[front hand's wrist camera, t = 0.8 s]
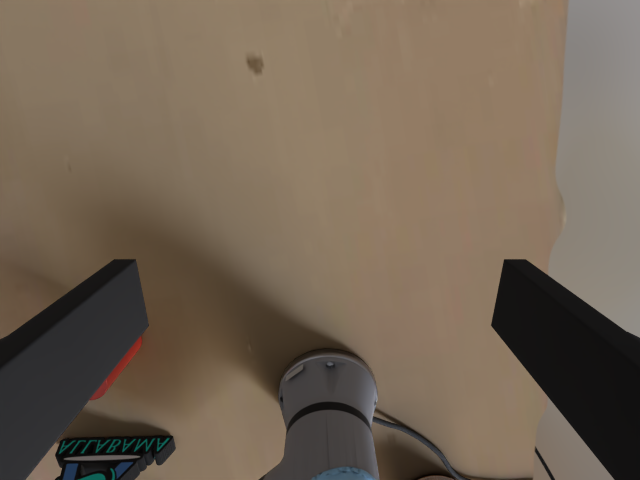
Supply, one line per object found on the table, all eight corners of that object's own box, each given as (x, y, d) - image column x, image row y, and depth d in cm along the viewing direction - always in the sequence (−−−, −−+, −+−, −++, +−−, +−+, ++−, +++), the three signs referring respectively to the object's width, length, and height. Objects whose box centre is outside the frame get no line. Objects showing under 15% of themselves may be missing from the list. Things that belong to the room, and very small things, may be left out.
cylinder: (95, 342, 53) (51, 386, 44) (111, 313, 51) (68, 354, 42) (131, 360, 54) (95, 407, 45) (148, 333, 52) (114, 377, 44)
